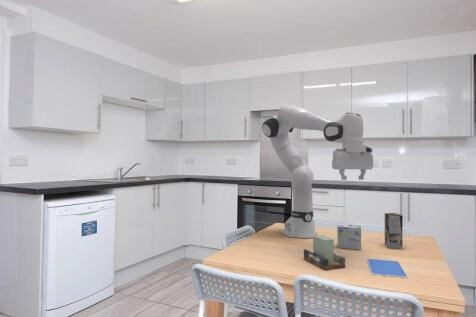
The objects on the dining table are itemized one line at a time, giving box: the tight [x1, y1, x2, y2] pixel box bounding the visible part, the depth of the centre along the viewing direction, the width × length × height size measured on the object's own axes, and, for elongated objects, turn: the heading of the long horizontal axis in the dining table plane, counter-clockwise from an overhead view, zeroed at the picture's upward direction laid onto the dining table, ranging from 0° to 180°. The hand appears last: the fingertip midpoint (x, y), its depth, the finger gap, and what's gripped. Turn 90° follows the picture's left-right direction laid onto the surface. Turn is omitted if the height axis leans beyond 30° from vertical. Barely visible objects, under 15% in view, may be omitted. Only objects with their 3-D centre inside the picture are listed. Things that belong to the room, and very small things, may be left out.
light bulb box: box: [336, 223, 362, 251], centre depth 159 cm, size 11×7×11 cm, turn 65°
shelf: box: [303, 248, 346, 271], centre depth 134 cm, size 16×9×4 cm, turn 20°
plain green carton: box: [312, 234, 335, 262], centre depth 134 cm, size 5×8×9 cm, turn 21°
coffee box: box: [384, 212, 404, 250], centre depth 161 cm, size 9×6×16 cm
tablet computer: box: [366, 258, 409, 279], centre depth 127 cm, size 19×13×1 cm, turn 163°
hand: (352, 179), depth 145 cm, fingers open, 8 cm apart
